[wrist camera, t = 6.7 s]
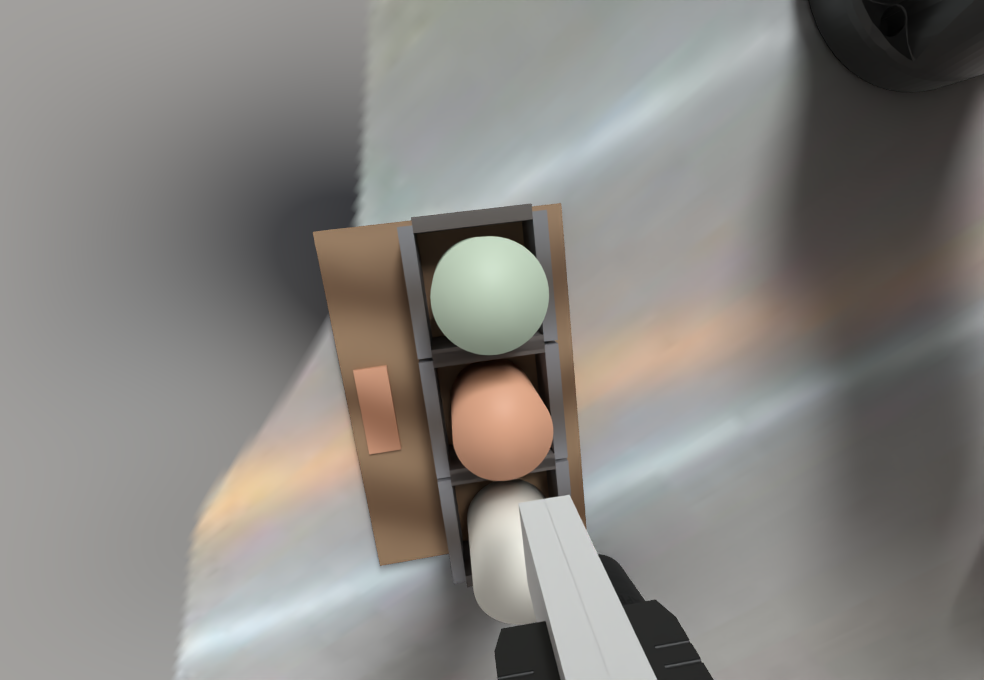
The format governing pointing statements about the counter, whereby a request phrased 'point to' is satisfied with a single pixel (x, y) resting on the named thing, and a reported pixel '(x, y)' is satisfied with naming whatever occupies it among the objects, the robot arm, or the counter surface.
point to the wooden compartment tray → (437, 373)
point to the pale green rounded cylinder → (489, 295)
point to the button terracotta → (498, 421)
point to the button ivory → (501, 550)
